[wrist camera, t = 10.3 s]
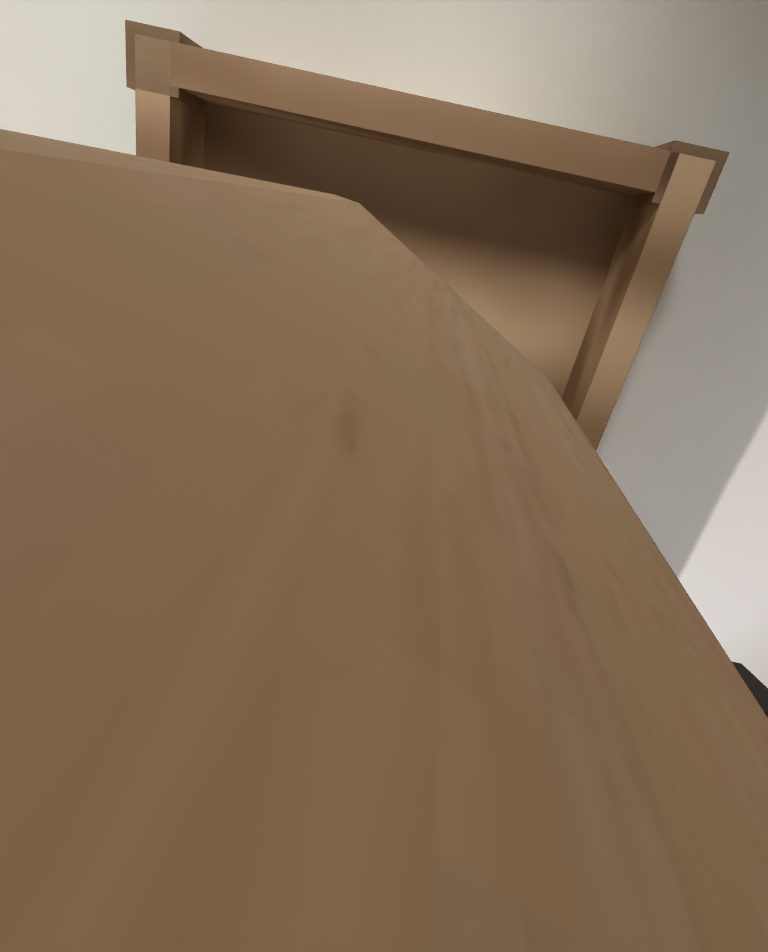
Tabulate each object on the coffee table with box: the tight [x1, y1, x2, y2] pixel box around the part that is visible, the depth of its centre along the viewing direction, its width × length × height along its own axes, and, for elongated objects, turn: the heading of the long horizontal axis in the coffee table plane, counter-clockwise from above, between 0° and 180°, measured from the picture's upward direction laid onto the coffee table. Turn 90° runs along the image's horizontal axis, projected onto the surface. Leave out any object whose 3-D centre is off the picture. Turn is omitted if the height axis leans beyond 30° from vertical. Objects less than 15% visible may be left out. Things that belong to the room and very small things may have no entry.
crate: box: [125, 20, 729, 451], centre depth 23 cm, size 20×20×4 cm
